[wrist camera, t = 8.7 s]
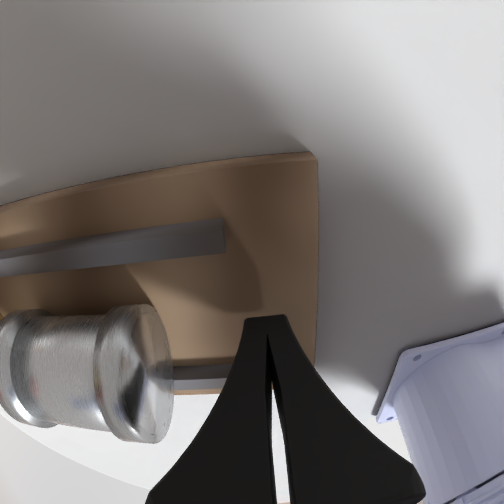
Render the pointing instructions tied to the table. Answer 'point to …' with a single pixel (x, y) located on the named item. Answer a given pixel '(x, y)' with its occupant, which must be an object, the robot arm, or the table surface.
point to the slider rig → (175, 254)
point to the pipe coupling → (89, 371)
